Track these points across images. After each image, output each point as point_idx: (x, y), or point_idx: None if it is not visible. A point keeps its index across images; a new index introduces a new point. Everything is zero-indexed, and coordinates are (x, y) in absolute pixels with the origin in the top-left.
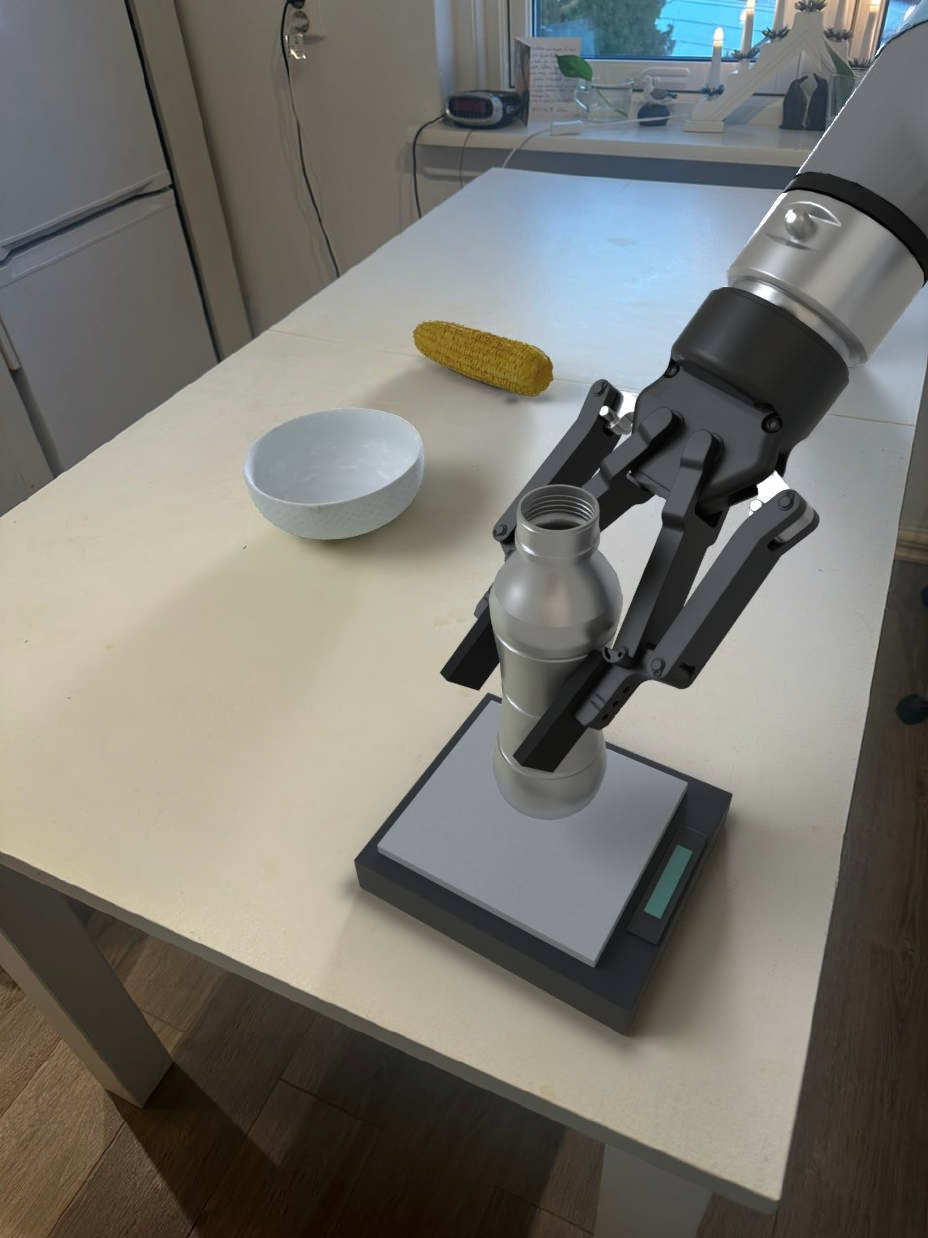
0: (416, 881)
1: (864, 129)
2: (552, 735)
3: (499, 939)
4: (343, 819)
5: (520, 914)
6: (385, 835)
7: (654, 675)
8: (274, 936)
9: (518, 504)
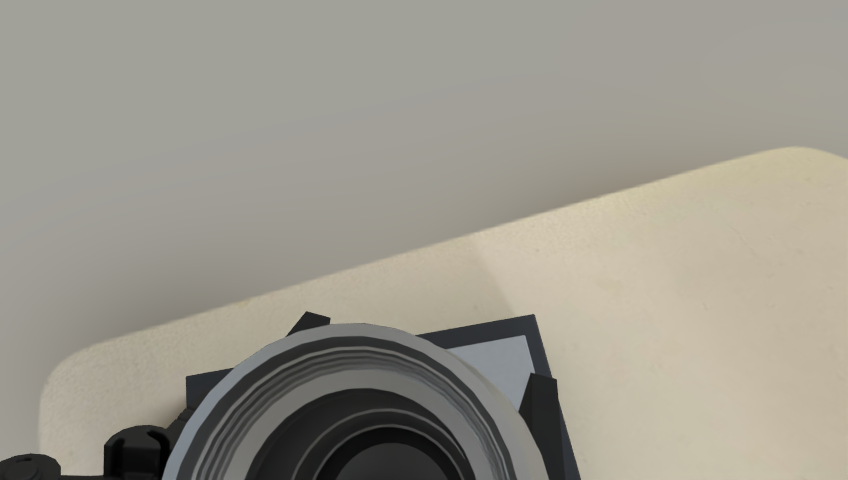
0: (461, 340)
1: None
2: None
3: None
4: (609, 378)
5: None
6: (528, 350)
7: (29, 455)
8: (540, 241)
9: (504, 415)
